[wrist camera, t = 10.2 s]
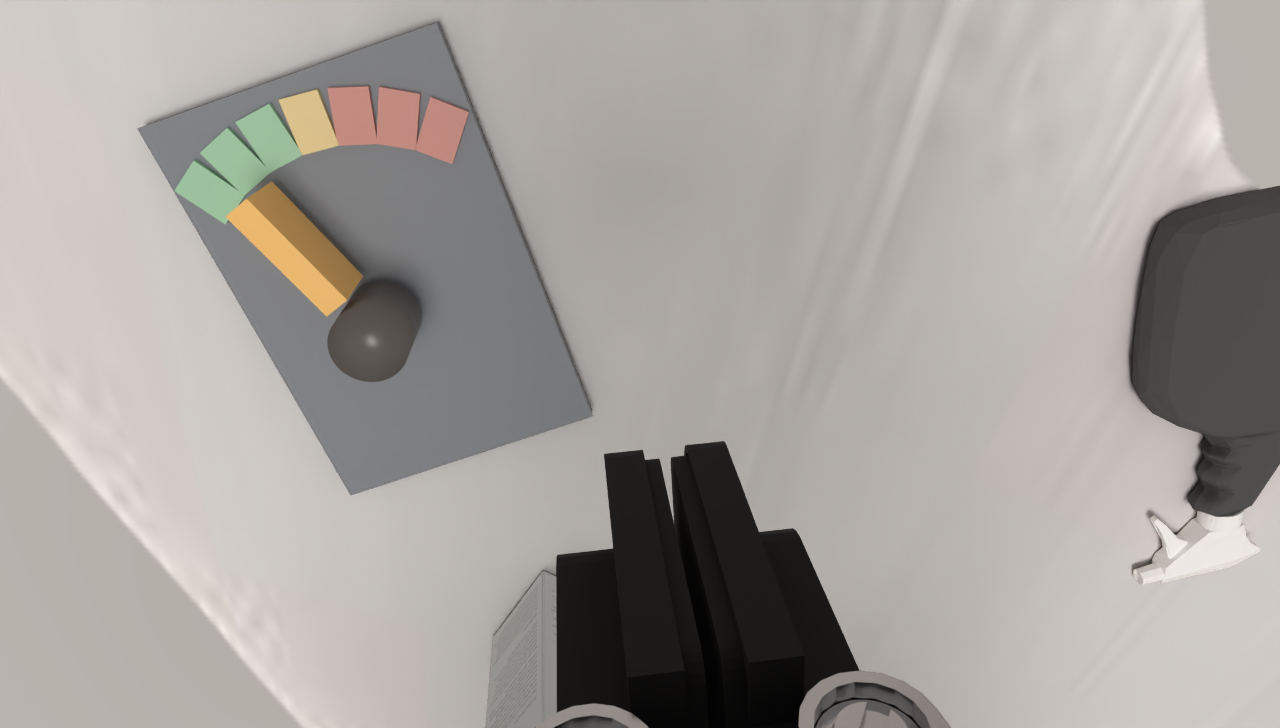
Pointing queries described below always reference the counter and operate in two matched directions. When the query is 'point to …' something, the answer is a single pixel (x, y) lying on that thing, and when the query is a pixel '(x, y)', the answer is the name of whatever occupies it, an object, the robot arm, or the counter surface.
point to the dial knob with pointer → (333, 287)
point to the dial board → (383, 254)
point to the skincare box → (525, 661)
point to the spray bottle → (1214, 367)
